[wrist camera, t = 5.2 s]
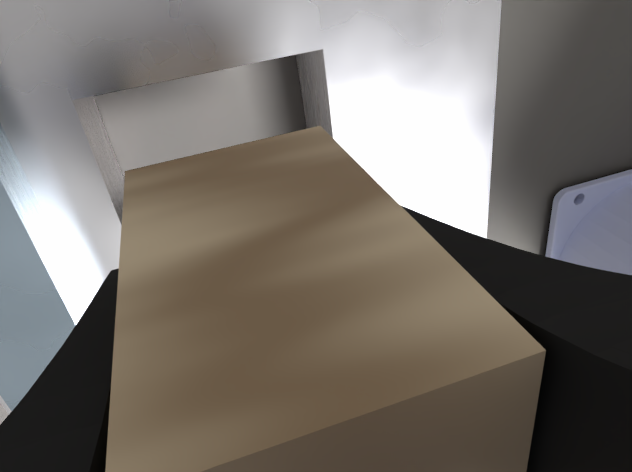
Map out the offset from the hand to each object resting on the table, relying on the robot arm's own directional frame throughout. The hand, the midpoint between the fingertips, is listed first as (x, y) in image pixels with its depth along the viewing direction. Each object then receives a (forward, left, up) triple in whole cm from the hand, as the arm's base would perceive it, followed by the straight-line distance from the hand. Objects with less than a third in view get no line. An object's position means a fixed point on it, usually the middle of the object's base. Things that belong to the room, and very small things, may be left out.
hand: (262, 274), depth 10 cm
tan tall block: (0, 0, -2) cm, 2 cm away
